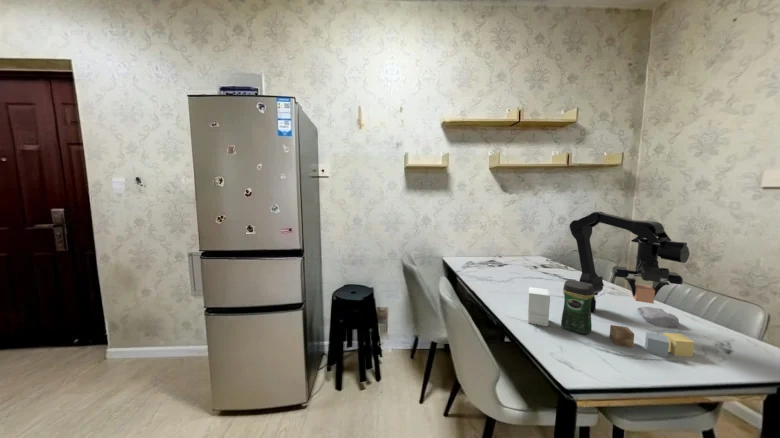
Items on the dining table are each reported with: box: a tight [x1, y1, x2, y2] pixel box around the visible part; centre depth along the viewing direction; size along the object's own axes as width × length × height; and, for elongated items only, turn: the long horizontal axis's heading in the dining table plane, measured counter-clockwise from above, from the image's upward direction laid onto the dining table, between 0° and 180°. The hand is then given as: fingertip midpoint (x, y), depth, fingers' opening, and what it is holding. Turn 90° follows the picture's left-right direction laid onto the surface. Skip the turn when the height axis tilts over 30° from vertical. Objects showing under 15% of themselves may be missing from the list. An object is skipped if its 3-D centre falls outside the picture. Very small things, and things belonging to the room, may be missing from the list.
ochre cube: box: [663, 332, 695, 358], centre depth 94 cm, size 5×5×5 cm
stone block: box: [636, 306, 680, 328], centre depth 117 cm, size 12×5×10 cm
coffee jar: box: [560, 279, 595, 335], centre depth 108 cm, size 10×8×19 cm
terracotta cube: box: [631, 283, 656, 304], centre depth 107 cm, size 5×5×5 cm
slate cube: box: [644, 331, 669, 358], centre depth 95 cm, size 5×5×5 cm
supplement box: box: [526, 286, 551, 327], centre depth 115 cm, size 7×7×13 cm
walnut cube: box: [609, 324, 635, 349], centre depth 100 cm, size 5×5×5 cm
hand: (642, 297), depth 107 cm, fingers closed on terracotta cube, 5 cm apart
